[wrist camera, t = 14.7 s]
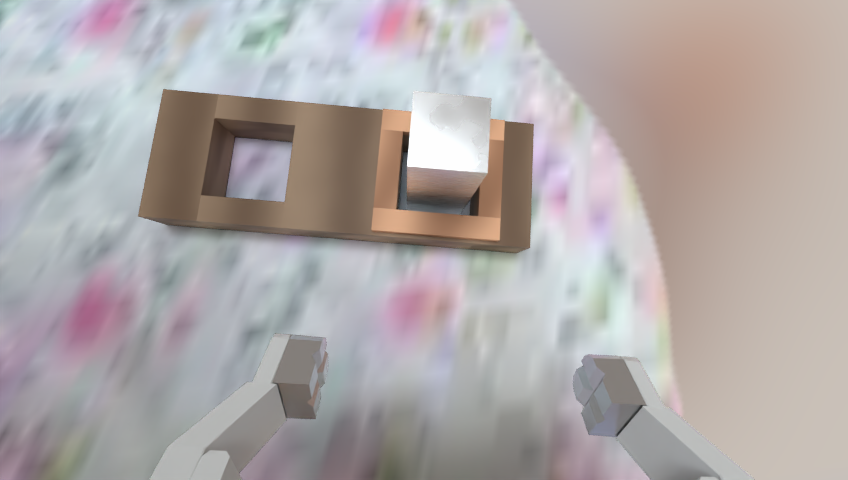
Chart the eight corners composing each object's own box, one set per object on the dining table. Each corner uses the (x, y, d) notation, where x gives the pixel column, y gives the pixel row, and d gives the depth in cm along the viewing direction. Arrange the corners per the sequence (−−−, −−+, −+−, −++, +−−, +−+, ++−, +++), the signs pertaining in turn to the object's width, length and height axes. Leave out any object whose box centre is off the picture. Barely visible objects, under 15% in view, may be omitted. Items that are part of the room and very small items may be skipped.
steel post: (406, 212, 28) (407, 166, 18) (410, 162, 28) (413, 90, 18) (458, 216, 28) (487, 173, 18) (461, 166, 28) (491, 98, 18)
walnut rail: (168, 225, 26) (131, 214, 23) (189, 111, 28) (157, 84, 24) (516, 252, 27) (533, 246, 24) (520, 141, 29) (536, 119, 25)
